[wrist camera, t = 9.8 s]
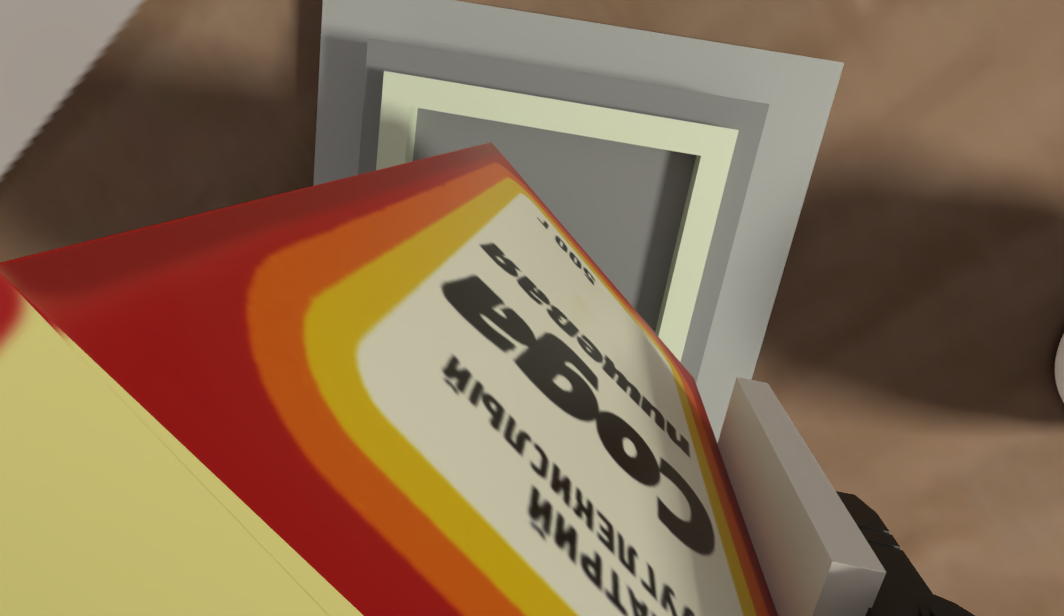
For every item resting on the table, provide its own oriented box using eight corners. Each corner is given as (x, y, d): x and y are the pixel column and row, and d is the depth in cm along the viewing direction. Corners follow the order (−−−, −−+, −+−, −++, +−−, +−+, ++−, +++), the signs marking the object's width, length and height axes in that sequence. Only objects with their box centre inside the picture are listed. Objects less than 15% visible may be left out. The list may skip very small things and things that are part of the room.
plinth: (318, 414, 32) (258, 478, 27) (343, -11, 26) (272, -46, 20) (705, 490, 31) (729, 573, 26) (825, 66, 25) (892, 52, 19)
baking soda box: (341, 282, 20) (-513, 833, 5) (491, 142, 18) (-85, 281, 3) (537, 489, 21) (383, 1422, 6) (694, 378, 20) (1026, 1302, 4)
